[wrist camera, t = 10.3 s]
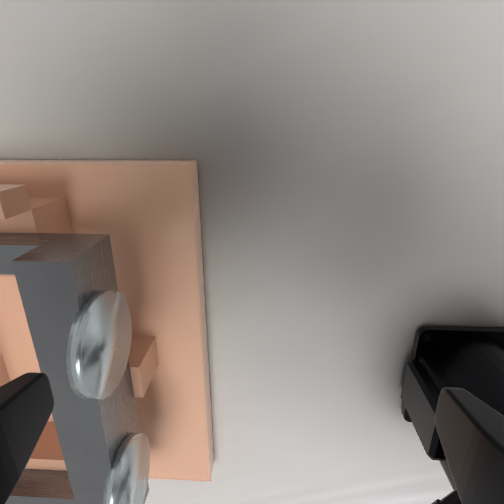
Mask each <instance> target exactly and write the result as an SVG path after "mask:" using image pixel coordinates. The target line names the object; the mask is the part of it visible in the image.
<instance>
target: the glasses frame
mask: <svg viewBox="0 0 504 504" xmlns="http://www.w3.org/2000/svg"><path fill="white" fill-rule="evenodd" d="M0 274H11V275H15V277H16V281H17V285H18V289H19V293H20V296H21V300H22V304H23V308H24V311H25V315H26V319H27V323H28V326H29V330H30V334H31V338H32V341H33V345H34V349H35V353H36V356H37V360H38V364H39V368H40V372H41V373H45V374H46V375H47V376H48V378H49V381H50V385H51V389H52V393H53V397H54V408H53V411H52V417H53V420H54V424H55V428H56V432H57V435H58V439H59V443H60V447H61V450H62V454H63V458H64V462H65V466H66V469H67V471H62V470H42V469H24V471H23V473H22V475H21V477H20V479H19V481H18V482H17V484H16V486H15V488H14V490H13V491H12V493H11V495H10V496H9V498H8V500H7V501H6V503H5V504H144V503H145V500H146V497H147V494H148V491H149V487H148V476H149V468H150V445H149V440H148V437H147V435H146V434H144V433H140V429H139V423H138V416H137V410H136V403H135V397H134V390H133V384H132V377H131V371H130V364H129V353H130V348H131V339H132V321H131V314H130V309H129V305H128V303H127V301H126V299H125V297H124V296H123V295H122V294H121V293H120V292H118V287H117V280H116V274H115V267H114V261H113V255H112V248H111V242H110V235H109V234H72V233H0Z"/></svg>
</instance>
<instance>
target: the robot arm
mask: <svg viewBox="0 0 504 504" xmlns="http://www.w3.org/2000/svg"><path fill="white" fill-rule="evenodd" d="M426 334H430V335H429V336H428V337H424V336H425V335H426ZM401 399H402V401H403V405H402V414H403V417H404V419H405V420H406V421H408V422H412V423H413V425H414V427H415V429H416V432H417V434H418V436H419V438H420V440H421V443H422V445H423V447H424V449H425V451H426V454H427V455H428V456H429V457H430V458H431V459H432V460H439V461H440V463H441V465H442V467H443V469H444V471H445V473H446V475H447V477H448V479H449V482H450V484H451V486H452V488H453V490H454V491H452V492H451V493H450V494H448V495H447V496H446V497H444V498H443V499H442V500H439V499H437V500H436V501H435V502H433V503H432V504H504V328H495V327H459V326H423V327H420V328H419V329H418V330H417V332H416V337H415V342H414V347H413V353H412V358H411V360H410V361H409V362H408V363H407V366H406V371H405V377H404V382H403V387H402V393H401ZM53 408H54V397H53V393H52V389H51V385H50V381H49V378H48V376H47V375H46V374H45V373H35V372H29V373H25V374H23V375H21V376H19V377H17V378H16V379H14V380H12V381H10V382H8V383H6V384H4V385H2V386H0V504H5V503H6V501H7V500H8V498H9V496H10V495H11V493H12V491H13V490H14V488H15V486H16V484H17V482H18V481H19V479H20V477H21V475H22V473H23V471H24V469H25V467H26V465H27V463H28V461H29V459H30V457H31V455H32V453H33V451H34V449H35V447H36V445H37V443H38V440H39V438H40V436H41V434H42V432H43V430H44V428H45V426H46V424H47V422H48V420H49V418H50V415H51V413H52V411H53Z"/></svg>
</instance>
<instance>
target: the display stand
mask: <svg viewBox="0 0 504 504" xmlns="http://www.w3.org/2000/svg"><path fill="white" fill-rule="evenodd" d="M0 233H72V234H109V235H110V242H111V248H112V255H113V261H114V267H115V274H116V280H117V287H118V292H120V293H121V294H122V295H123V296H124V297H125V299H126V301H127V303H128V305H129V309H130V314H131V321H132V339H131V348H130V353H129V364H130V371H131V377H132V384H133V390H134V397H135V403H136V410H137V416H138V423H139V429H140V433H144V434H146V435H147V437H148V440H149V445H150V468H149V476H148V478H154V479H173V480H192V481H211V475H212V469H213V464H214V450H213V433H212V415H211V397H210V380H209V362H208V344H207V327H206V309H205V291H204V273H203V256H202V238H201V220H200V203H199V185H198V167H197V160H0ZM29 372H35V373H41V372H40V368H39V364H38V360H37V356H36V353H35V349H34V345H33V341H32V338H31V334H30V330H29V326H28V323H27V319H26V315H25V311H24V308H23V304H22V300H21V296H20V293H19V289H18V285H17V281H16V277H15V275H11V274H0V386H2V385H4V384H6V383H8V382H10V381H12V380H14V379H16V378H17V377H19V376H21V375H23V374H25V373H29ZM25 469H42V470H62V471H67V469H66V466H65V462H64V458H63V454H62V450H61V447H60V443H59V439H58V435H57V432H56V428H55V424H54V420H53V417H52V413H51V415H50V418H49V420H48V422H47V424H46V426H45V428H44V430H43V432H42V434H41V436H40V438H39V440H38V443H37V445H36V447H35V449H34V451H33V453H32V455H31V457H30V459H29V461H28V463H27V465H26V467H25Z"/></svg>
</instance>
